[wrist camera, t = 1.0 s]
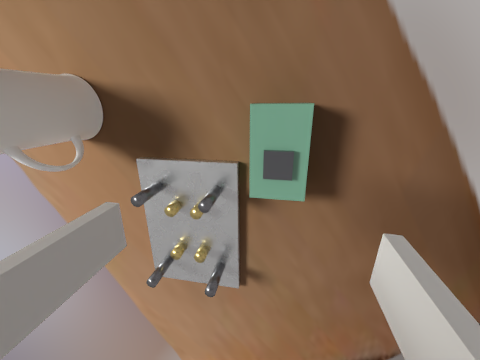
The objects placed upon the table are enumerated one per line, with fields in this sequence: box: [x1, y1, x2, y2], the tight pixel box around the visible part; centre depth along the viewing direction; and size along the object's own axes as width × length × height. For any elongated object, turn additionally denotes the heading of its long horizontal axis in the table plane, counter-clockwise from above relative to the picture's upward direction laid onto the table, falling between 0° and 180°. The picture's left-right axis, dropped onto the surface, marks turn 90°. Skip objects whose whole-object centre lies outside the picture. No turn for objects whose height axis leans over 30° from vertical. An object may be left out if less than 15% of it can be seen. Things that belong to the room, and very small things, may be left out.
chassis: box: [131, 157, 240, 297], centre depth 30 cm, size 20×14×6 cm
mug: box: [0, 69, 103, 171], centre depth 25 cm, size 12×8×12 cm
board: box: [250, 103, 314, 201], centre depth 25 cm, size 10×6×5 cm, turn 0°
